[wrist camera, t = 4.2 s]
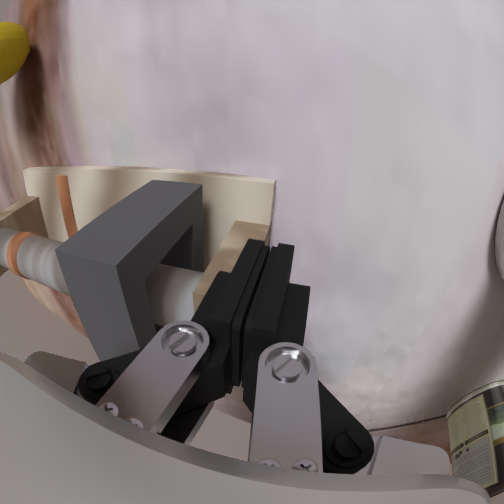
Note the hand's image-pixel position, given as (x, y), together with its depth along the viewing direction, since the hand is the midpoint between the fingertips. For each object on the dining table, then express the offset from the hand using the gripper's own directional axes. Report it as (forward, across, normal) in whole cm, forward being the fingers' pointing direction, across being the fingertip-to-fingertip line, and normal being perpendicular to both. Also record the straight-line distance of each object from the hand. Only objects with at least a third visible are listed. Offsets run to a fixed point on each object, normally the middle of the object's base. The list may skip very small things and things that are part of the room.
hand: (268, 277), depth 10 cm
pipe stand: (+7, +12, +3) cm, 14 cm away
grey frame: (+5, +6, +3) cm, 8 cm away
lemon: (+7, +22, -13) cm, 26 cm away
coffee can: (+8, -29, +21) cm, 37 cm away
